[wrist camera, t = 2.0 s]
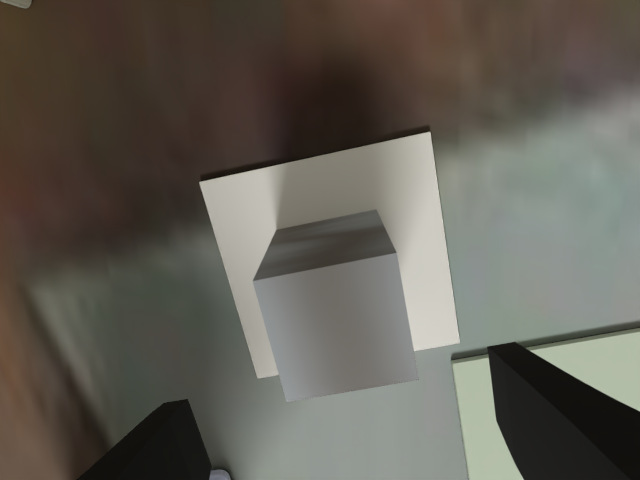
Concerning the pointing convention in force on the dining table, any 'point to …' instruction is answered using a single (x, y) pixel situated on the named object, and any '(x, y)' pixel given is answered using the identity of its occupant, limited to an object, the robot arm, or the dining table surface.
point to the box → (19, 3)
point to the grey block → (335, 307)
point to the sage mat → (570, 356)
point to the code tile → (330, 202)
